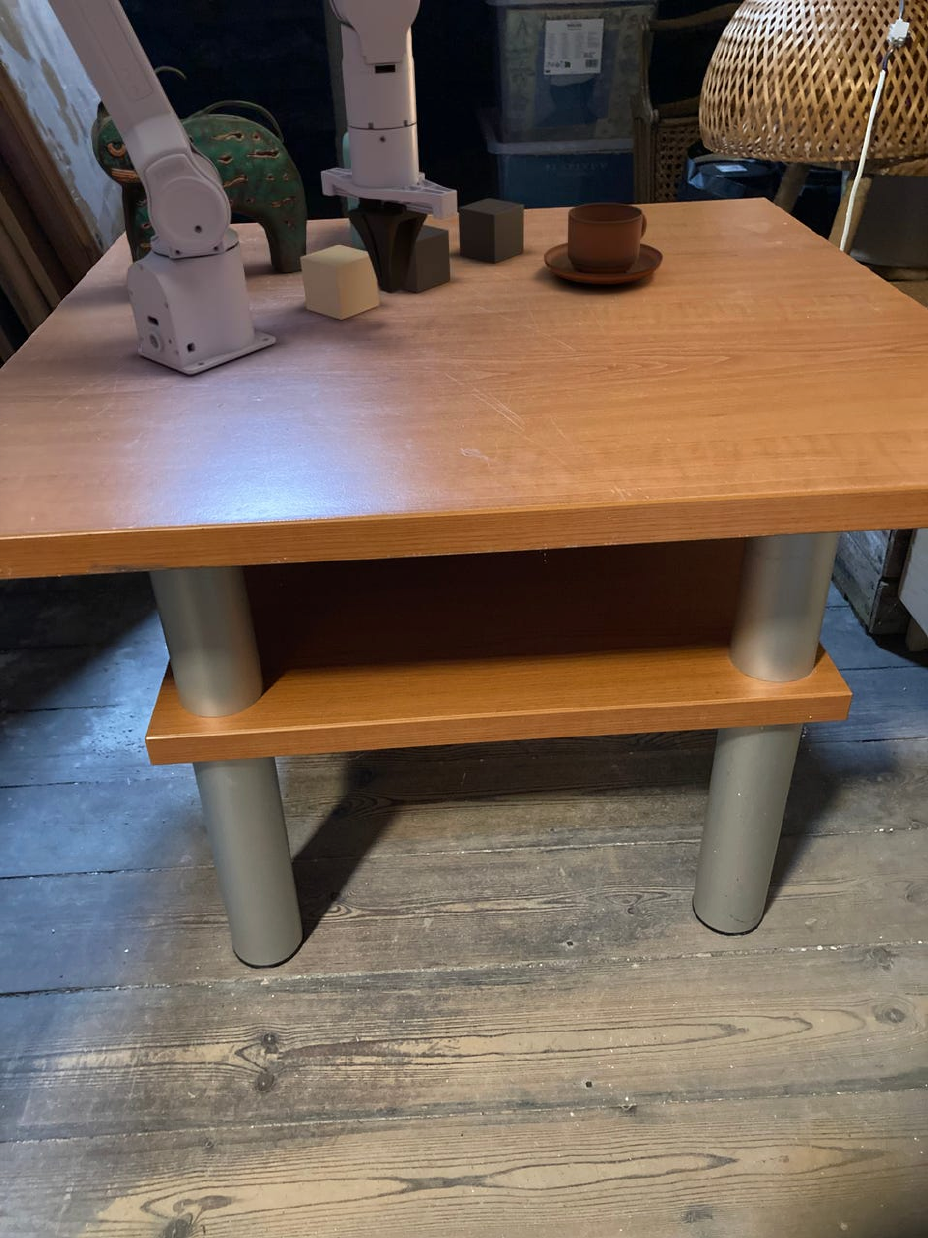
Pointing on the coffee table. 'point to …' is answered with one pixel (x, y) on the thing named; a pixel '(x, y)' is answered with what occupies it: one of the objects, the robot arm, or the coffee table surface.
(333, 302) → the cream block
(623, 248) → the cup and saucer
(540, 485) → the coffee table surface
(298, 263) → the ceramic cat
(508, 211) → the far block
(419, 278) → the middle block
